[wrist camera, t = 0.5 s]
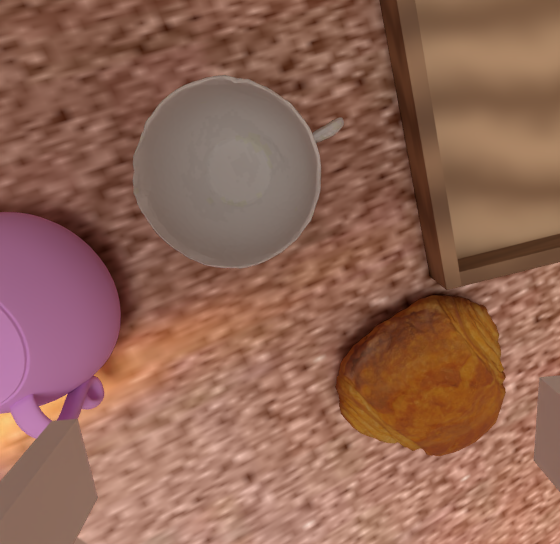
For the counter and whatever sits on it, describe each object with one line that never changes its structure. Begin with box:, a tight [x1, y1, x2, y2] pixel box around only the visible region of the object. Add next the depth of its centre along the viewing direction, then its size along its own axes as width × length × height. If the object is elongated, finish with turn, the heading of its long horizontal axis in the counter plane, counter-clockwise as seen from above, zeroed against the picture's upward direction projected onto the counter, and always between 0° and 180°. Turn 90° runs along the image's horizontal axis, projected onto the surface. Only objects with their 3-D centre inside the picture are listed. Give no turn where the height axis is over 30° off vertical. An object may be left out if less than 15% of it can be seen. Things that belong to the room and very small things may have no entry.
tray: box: [380, 0, 560, 290], centre depth 33 cm, size 26×18×4 cm
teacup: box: [133, 75, 344, 268], centre depth 32 cm, size 15×12×8 cm
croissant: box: [335, 295, 506, 456], centre depth 38 cm, size 14×16×8 cm
